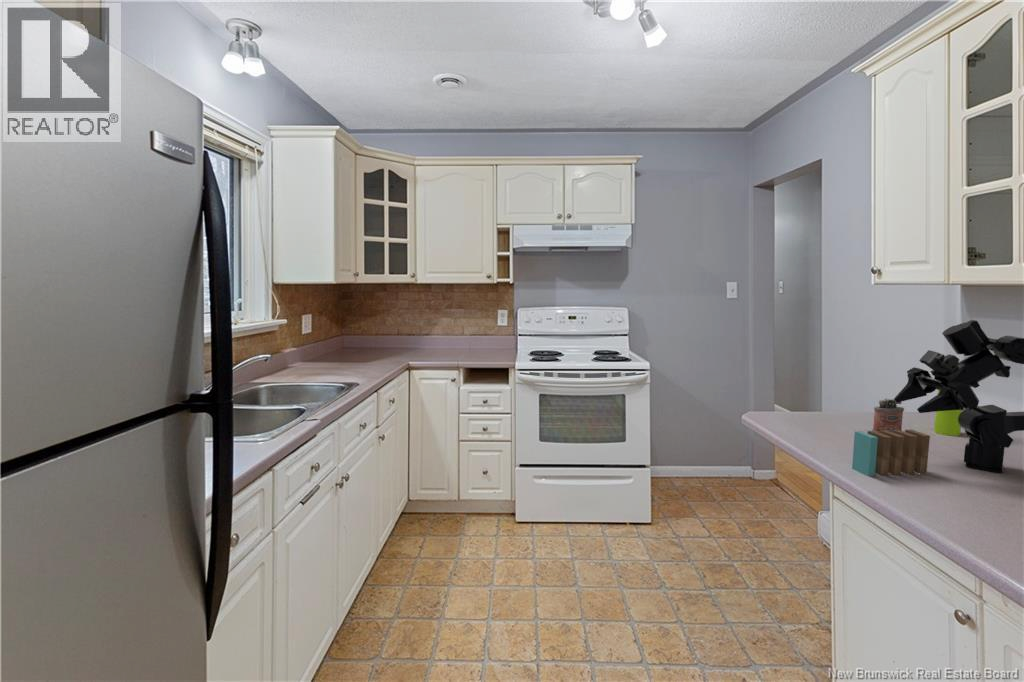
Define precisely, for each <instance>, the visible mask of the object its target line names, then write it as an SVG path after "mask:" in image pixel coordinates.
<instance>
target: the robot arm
mask: <svg viewBox="0 0 1024 682" xmlns="http://www.w3.org/2000/svg"><path fill="white" fill-rule="evenodd" d="M941 334H942V335H943V337H944V338H945V340H946V341H947V342H948V344H949V346H950V347H951V348H952V349H953V351H954V352H955V354H957V355H963V356H964V357H966V358H964V359H962V360H960V358H958V357H957V355H955V354H947V355H945V354H942V353H940V352H937V351H933V350H931V349H930V350H927V351H925V353H924V355H922V357H921V358H920V359H919V362H920V363H921V364H924V365H926V366H927V367H928V368H930V369H931V370H930V372H929V371H928V370H925V369H922V368H919V367H911V368H910V369H908V370H907V371H906V373H907V379H908V380H907V383H906V384H905V386H904V387H903V388H902V389H901V390H900V391H899V393H897V395H896V396H895V397H894V398H893V399H894V400H895V401H896V402H906V401H910V400H913V399H914V400H915V399H917V398H921V397H926V396H928V395H927V394H931V393H933V392H935V391H936V390H937V391H938V390H940V392H939V394H938V395H937V394H936V395H935V396H933V397H932V398H931V399H929V400H928V401H926V402H925V403H923V404H921V405H920V406H919V407H918V408H916V410H917V412H918V413H920V414H925V413H934V412H935V413H936V411H949V410H963V411H962V412H961V413H960V415H959V417H958V423H959V425H960V426H961V429H963V430H964V432H965V435H966V436H967V437H969V439H968V442H967V443H965V446H964V455H963V462H964V463H965V467H967V468H972V469H977V470H982V471H983V470H984V471H988V472H993V473H1001V474H1002V473H1003V471H1004V456H1005V448H1007V449H1009V448H1010V446H1011V445H1012V444H1013V441H1014V439H1013V438H1012V437H1011V436H1010V435H1009V434H1011V433H1013V432H1020V431H1021V432H1022V431H1024V411H1008V412H1007V410H1006V409H1004V408H1003V407H1001V406H997V405H994V404H986V405H981V406H979V403H980V399H979V397H978V396H977V395H976V393H975V392H974V390H973V388H974V389H976V388H978V387H980V386H981V385H980V384H979V383H980V382H981V381H983V380H985V379H987V378H989V377H991V376H993V375H995V376H997V377H1000V378H1010V373H1011V372H1010V369H1011V366H1010V365H1005V364H1004V363H1003V361H1002V360H1004V361H1007V362H1011V363H1015V364H1021V365H1024V337H1020V336H1013V335H1004V336H1001V337H999V338H997V339H996V338H991V337H988V336H987V334H986V333H985V332H984V330H983V329H982V328H981V325H980V323H979V321H978V320H975V319H970V320H969V321H966V322H962V323H959V324H956V325H952V326H949V327H948V328H946V329H945V330H944V331H943V332H942V333H941ZM991 351H992V352H993V353H992V352H991ZM930 373H931V374H930ZM932 376H933V377H932Z"/></svg>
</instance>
